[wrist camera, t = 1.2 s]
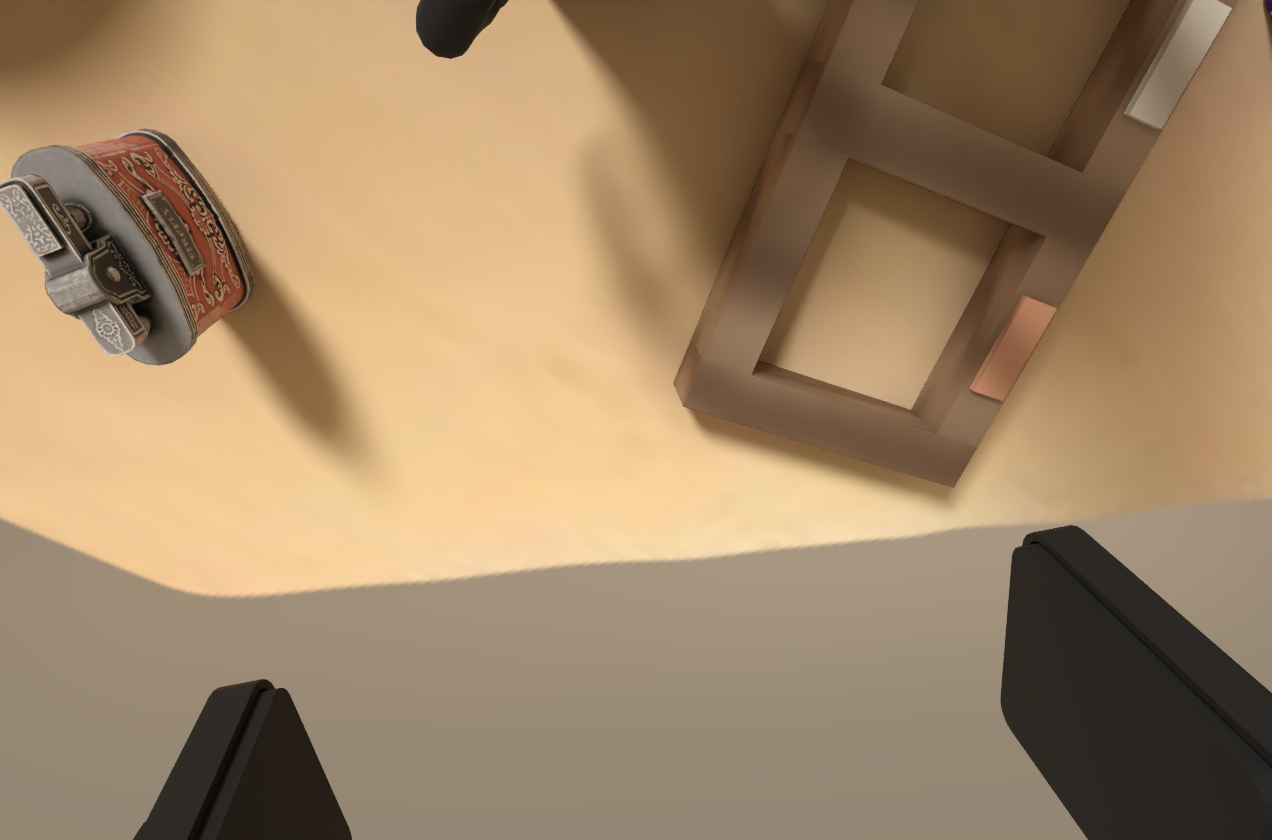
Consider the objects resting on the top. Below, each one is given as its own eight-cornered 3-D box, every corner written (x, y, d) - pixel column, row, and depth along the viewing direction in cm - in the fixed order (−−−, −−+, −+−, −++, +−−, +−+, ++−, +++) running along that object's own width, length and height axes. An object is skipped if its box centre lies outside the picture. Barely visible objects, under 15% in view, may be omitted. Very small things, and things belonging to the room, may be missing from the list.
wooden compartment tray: (948, -291, 30) (996, -330, 27) (1250, -113, 34) (1321, -131, 31) (673, 383, 40) (684, 410, 37) (928, 461, 44) (957, 491, 41)
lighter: (272, 293, 36) (186, 371, 27) (205, 319, 36) (96, 405, 27) (171, 116, 33) (33, 138, 24) (96, 145, 33) (-70, 178, 24)
